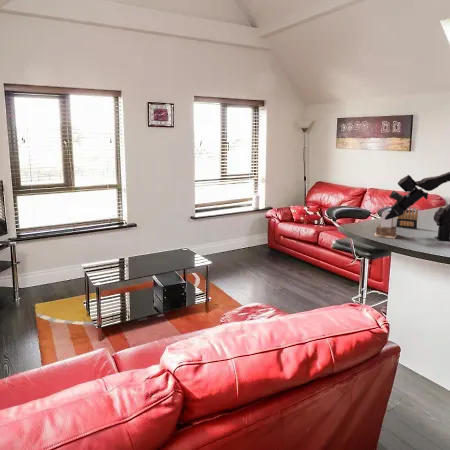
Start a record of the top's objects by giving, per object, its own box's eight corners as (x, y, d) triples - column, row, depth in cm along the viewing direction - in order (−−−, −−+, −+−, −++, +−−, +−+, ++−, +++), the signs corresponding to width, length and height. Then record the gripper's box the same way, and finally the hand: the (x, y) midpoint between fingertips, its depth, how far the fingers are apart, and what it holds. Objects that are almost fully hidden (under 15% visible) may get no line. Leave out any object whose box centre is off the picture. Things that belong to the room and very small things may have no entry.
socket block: (397, 234, 225) (398, 226, 224) (394, 238, 217) (395, 230, 216) (377, 232, 230) (378, 224, 229) (374, 236, 221) (374, 227, 220)
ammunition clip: (396, 227, 244) (398, 206, 241) (396, 226, 245) (398, 205, 243) (416, 229, 239) (418, 207, 236) (416, 228, 241) (418, 207, 238)
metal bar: (391, 233, 224) (393, 212, 222) (390, 235, 220) (392, 214, 217) (381, 232, 226) (383, 211, 224) (380, 234, 222) (382, 213, 220)
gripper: (402, 184, 223) (378, 203, 231) (398, 188, 207) (372, 208, 215) (417, 200, 222) (392, 219, 229) (414, 205, 205) (388, 225, 213)
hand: (386, 217), depth 221 cm, fingers open, 9 cm apart
